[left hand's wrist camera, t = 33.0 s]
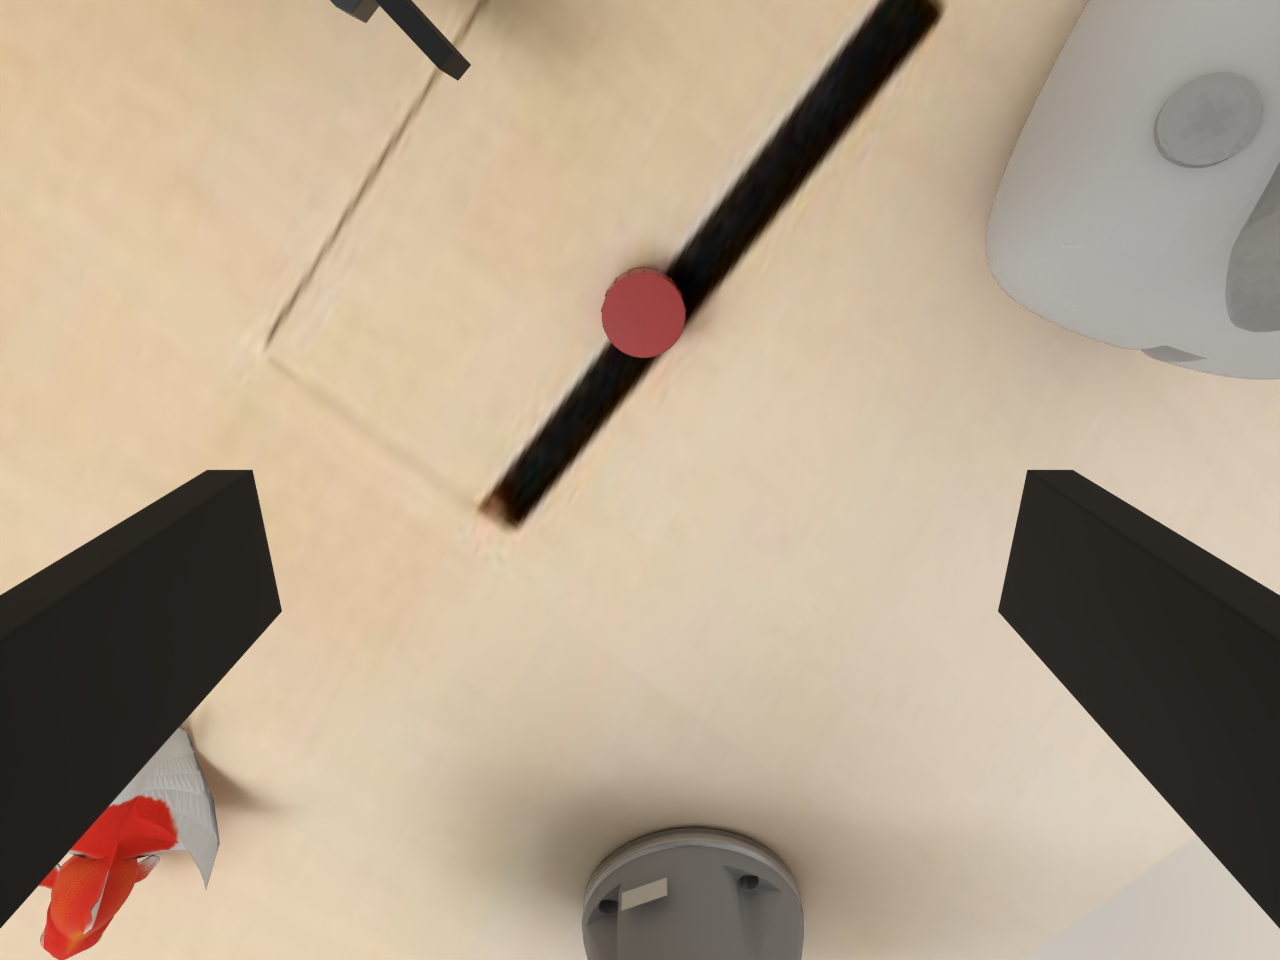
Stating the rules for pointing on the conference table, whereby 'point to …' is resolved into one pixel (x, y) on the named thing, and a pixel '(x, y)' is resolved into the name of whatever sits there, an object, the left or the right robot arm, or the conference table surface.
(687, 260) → the conference table surface
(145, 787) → the fish
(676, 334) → the cap
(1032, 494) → the left robot arm
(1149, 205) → the projector
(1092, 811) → the conference table surface
